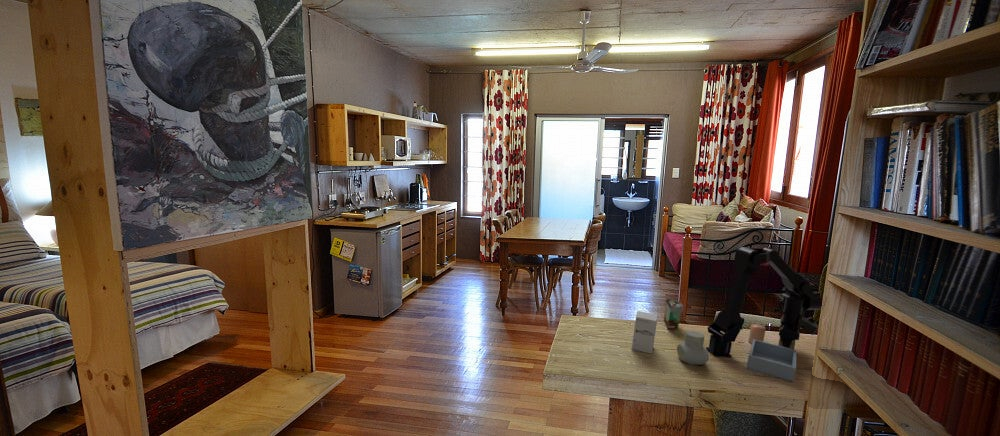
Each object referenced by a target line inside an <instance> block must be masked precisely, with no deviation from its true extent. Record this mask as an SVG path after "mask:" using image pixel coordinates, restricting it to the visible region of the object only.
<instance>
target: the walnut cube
mask: <svg viewBox="0 0 1000 436" xmlns="http://www.w3.org/2000/svg"><path fill="white" fill-rule="evenodd" d="M777 345H778V346H782V347H783V345H782V342H781V338H780V337H779V340H778V344H777ZM795 347H796V340H793V341H792V343H791V345H790V347H789V348H790V349H794V350H795Z"/></svg>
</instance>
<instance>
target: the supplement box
mask: <svg viewBox="0 0 1000 436" xmlns="http://www.w3.org/2000/svg"><path fill="white" fill-rule="evenodd" d="M658 317H659V315H658V314H654V313H650V312H644V311H640V310H637V311H636V316H635V323H634V330H633V336H632V344H631V350H634V351H638V352H639V351H640V352H644V353H648V354H653V350H654V343H655V337H656V332H657V324H658V323H657V322H658Z"/></svg>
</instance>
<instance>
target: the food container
mask: <svg viewBox="0 0 1000 436" xmlns="http://www.w3.org/2000/svg"><path fill="white" fill-rule="evenodd" d="M684 309H685V308H684V304H683V303H682V302H680V300H679V301H678V300H676V299H672V298H668V297H666V298H665V308H664V317H663V322H664V325H665V327H666V328H665V329H666V330H669V331H670V330H672V331H673V330H674V331H675V330H677V329H678V328H679V325H680V321H681V317H682V312H684Z"/></svg>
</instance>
